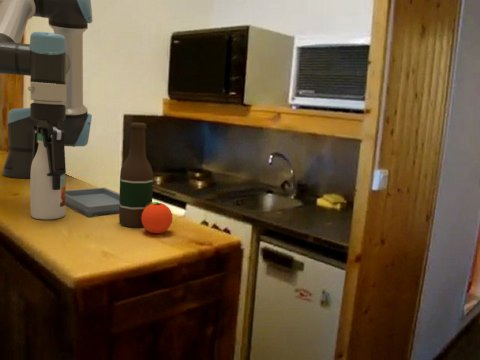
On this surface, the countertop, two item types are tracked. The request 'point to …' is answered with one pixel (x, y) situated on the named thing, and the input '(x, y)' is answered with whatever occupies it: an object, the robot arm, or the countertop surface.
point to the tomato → (156, 217)
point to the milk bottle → (44, 187)
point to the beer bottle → (135, 180)
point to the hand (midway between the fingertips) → (48, 199)
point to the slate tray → (93, 201)
